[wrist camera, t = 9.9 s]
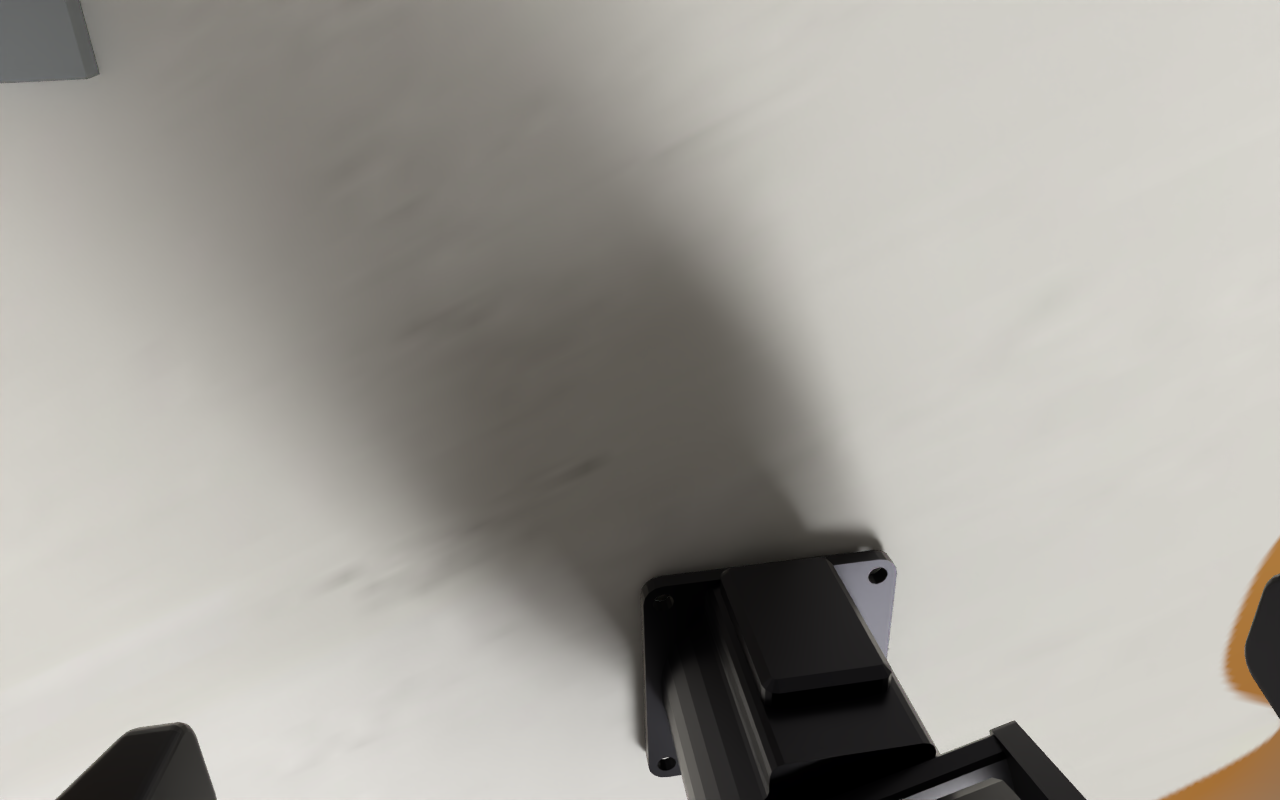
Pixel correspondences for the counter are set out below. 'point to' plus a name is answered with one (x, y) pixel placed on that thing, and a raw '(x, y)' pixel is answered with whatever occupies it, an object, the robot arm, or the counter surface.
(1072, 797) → the robot arm
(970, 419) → the counter surface
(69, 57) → the mat
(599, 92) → the counter surface
